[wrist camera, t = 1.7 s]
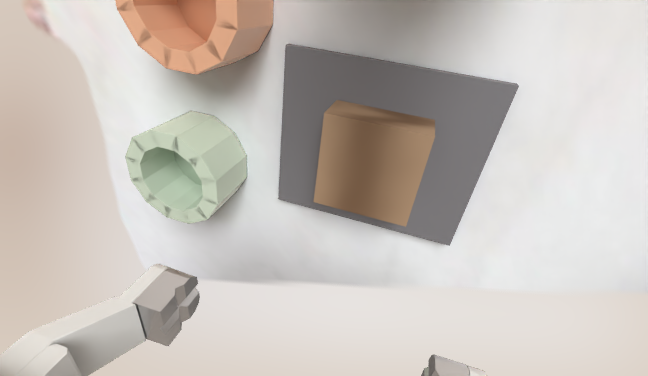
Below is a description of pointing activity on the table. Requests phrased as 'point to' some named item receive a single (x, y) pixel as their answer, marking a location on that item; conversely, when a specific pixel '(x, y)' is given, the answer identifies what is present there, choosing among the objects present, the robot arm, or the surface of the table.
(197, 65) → the bowl terracotta
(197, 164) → the bowl sage
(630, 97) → the table surface
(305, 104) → the mat
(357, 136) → the cardboard box
